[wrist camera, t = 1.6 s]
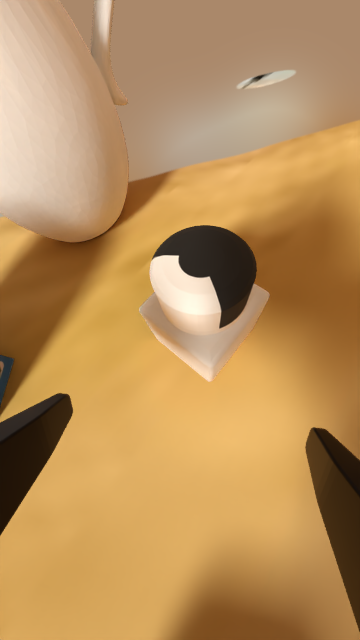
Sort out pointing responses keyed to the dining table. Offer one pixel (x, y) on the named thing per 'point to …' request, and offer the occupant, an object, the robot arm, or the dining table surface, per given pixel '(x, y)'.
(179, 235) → the medicine bottle
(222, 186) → the dining table surface
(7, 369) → the milk carton
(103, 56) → the pitcher
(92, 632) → the dining table surface
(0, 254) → the dining table surface
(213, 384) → the dining table surface
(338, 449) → the robot arm
